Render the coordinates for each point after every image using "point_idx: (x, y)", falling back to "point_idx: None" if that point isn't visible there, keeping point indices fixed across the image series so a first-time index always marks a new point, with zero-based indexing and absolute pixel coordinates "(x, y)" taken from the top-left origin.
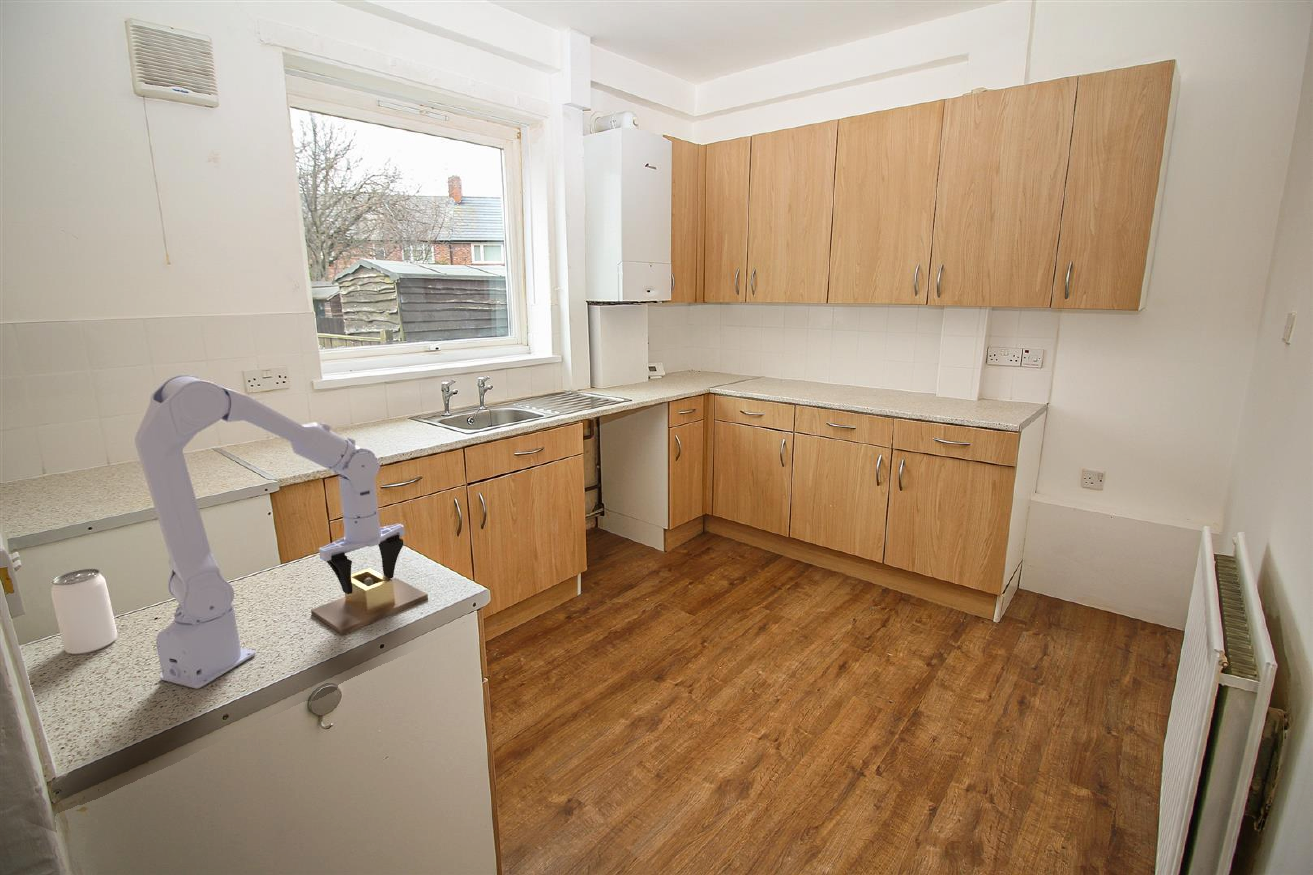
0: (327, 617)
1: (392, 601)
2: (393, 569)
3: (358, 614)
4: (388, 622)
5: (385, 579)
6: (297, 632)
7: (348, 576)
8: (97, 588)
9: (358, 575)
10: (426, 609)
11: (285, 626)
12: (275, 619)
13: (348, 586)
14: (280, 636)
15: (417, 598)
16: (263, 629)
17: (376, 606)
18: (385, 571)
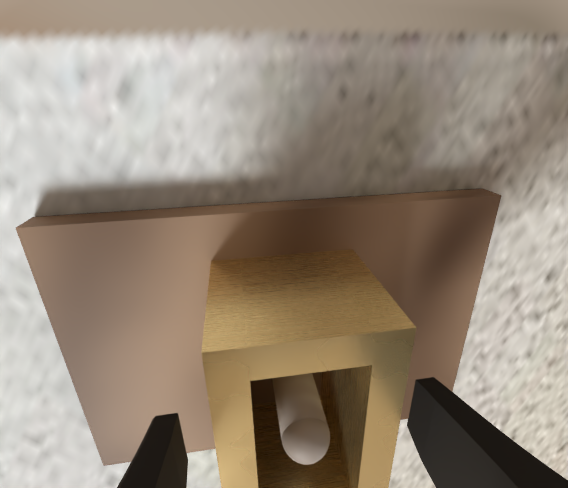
0: (456, 331)
1: (223, 266)
2: (135, 470)
3: (379, 274)
4: (304, 141)
5: (236, 389)
6: (527, 323)
7: (541, 486)
8: None
9: None
10: (86, 109)
11: (515, 377)
12: (498, 427)
13: (475, 413)
14: (562, 332)
15: (90, 223)
16: (549, 396)
17: (315, 261)
18: (180, 482)
